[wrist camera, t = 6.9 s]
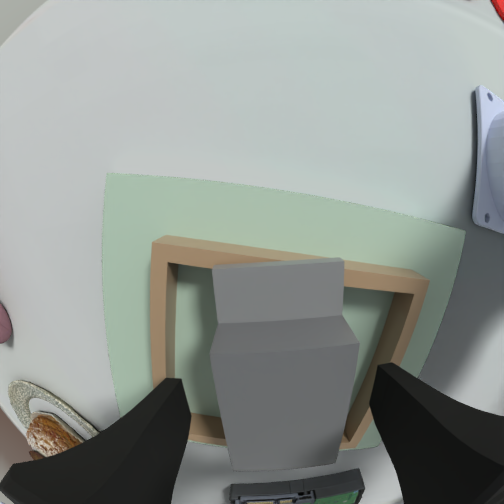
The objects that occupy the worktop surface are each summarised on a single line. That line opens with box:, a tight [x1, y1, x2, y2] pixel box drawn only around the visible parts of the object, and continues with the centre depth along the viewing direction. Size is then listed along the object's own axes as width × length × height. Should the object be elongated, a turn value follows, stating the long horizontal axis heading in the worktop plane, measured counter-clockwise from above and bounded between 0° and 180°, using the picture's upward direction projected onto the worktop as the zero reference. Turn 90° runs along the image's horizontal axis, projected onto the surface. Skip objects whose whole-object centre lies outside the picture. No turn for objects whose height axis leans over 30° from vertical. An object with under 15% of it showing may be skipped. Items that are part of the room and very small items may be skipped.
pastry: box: [8, 380, 100, 460], centre depth 13 cm, size 12×12×5 cm
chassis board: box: [102, 173, 466, 451], centre depth 11 cm, size 16×14×2 cm
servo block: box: [209, 257, 360, 471], centre depth 9 cm, size 4×10×4 cm, turn 4°
